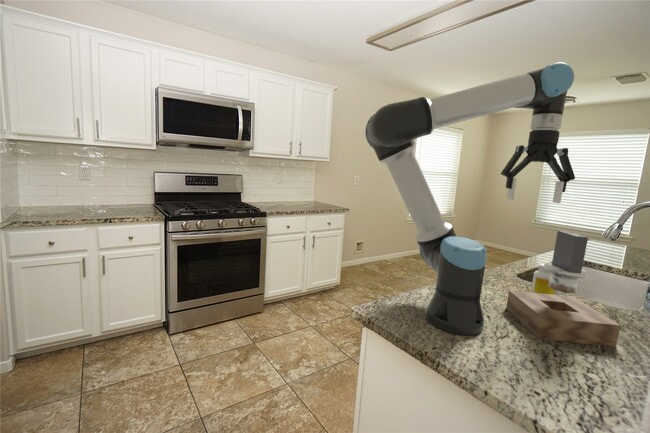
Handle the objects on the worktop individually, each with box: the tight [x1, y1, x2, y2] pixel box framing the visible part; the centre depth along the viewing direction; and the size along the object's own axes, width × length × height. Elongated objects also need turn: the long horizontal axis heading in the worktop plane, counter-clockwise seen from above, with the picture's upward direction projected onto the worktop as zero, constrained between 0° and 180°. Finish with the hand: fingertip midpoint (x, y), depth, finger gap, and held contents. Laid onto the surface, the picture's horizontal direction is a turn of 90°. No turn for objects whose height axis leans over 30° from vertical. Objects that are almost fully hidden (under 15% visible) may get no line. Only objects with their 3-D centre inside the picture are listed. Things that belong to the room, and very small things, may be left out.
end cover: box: [544, 230, 589, 294], centre depth 91 cm, size 10×10×16 cm
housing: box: [506, 290, 621, 348], centre depth 93 cm, size 19×19×6 cm
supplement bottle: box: [530, 263, 556, 295], centre depth 111 cm, size 7×7×13 cm
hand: (532, 201), depth 100 cm, fingers open, 13 cm apart
